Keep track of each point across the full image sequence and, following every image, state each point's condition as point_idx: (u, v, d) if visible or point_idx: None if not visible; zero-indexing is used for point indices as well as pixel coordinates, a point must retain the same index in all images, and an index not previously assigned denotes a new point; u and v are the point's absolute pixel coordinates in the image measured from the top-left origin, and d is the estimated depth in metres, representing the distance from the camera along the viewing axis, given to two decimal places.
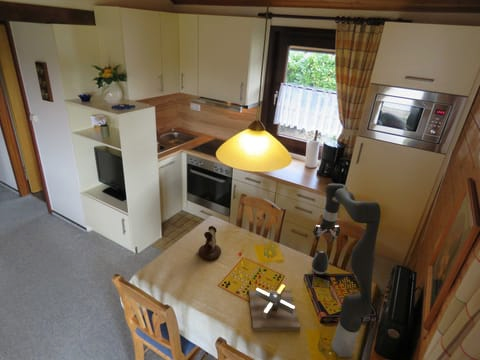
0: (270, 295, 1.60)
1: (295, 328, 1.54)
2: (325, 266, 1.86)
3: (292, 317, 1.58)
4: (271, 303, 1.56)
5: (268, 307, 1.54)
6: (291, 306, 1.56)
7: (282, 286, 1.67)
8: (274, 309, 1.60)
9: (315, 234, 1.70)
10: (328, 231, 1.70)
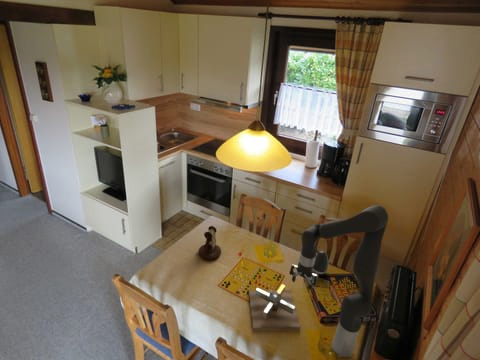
0: (270, 295, 1.60)
1: (295, 328, 1.54)
2: (325, 266, 1.86)
3: (292, 317, 1.58)
4: (271, 303, 1.56)
5: (268, 307, 1.54)
6: (291, 306, 1.56)
7: (282, 286, 1.67)
8: (274, 309, 1.60)
9: None
10: None
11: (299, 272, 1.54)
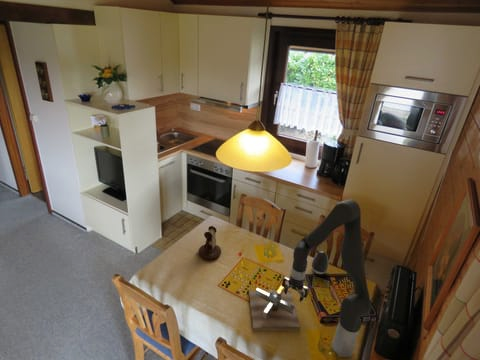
0: (270, 295, 1.60)
1: (295, 328, 1.54)
2: (325, 266, 1.86)
3: (292, 317, 1.58)
4: (271, 303, 1.56)
5: (268, 307, 1.54)
6: (291, 306, 1.56)
7: None
8: (274, 309, 1.60)
9: None
10: None
11: (291, 285, 1.60)
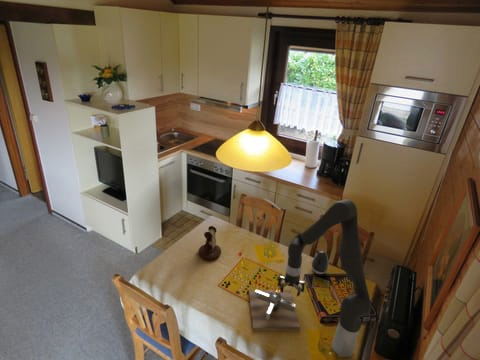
0: (270, 296, 1.60)
1: (295, 328, 1.54)
2: (325, 266, 1.86)
3: (292, 317, 1.58)
4: (272, 303, 1.56)
5: (270, 308, 1.54)
6: (292, 304, 1.57)
7: None
8: (275, 309, 1.60)
9: None
10: None
11: (287, 282, 1.62)
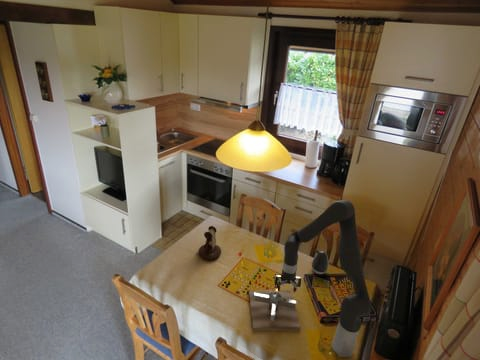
0: (270, 296, 1.59)
1: (295, 328, 1.54)
2: (325, 266, 1.86)
3: (292, 317, 1.58)
4: (274, 304, 1.56)
5: (273, 309, 1.53)
6: (292, 301, 1.58)
7: None
8: (276, 309, 1.60)
9: None
10: None
11: (285, 280, 1.63)
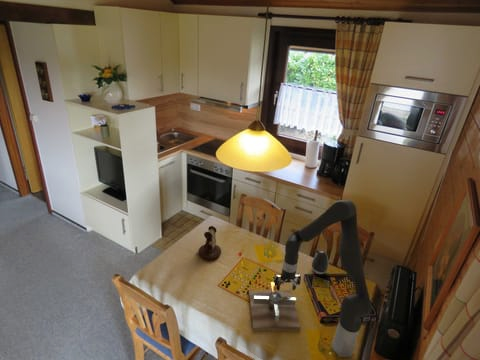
0: (270, 297, 1.59)
1: (295, 328, 1.54)
2: (325, 266, 1.86)
3: (292, 317, 1.58)
4: (276, 304, 1.56)
5: (276, 309, 1.53)
6: (292, 298, 1.60)
7: (272, 284, 1.68)
8: None
9: (297, 280, 1.69)
10: None
11: (285, 279, 1.64)
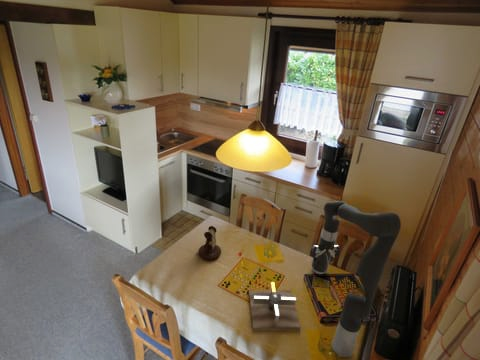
0: (270, 297, 1.59)
1: (295, 328, 1.54)
2: (325, 266, 1.86)
3: (292, 317, 1.58)
4: (276, 304, 1.56)
5: (276, 309, 1.53)
6: (292, 298, 1.60)
7: (272, 284, 1.68)
8: None
9: (335, 251, 1.61)
10: None
11: (323, 250, 1.55)
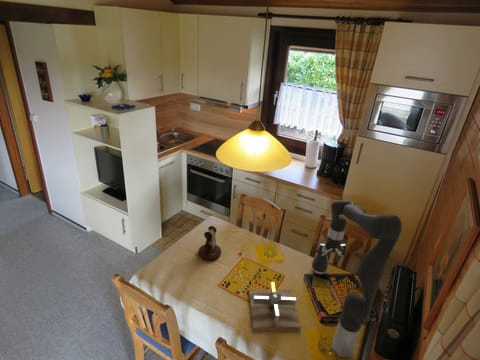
0: (270, 297, 1.59)
1: (295, 328, 1.54)
2: (325, 266, 1.86)
3: (292, 317, 1.58)
4: (276, 304, 1.56)
5: (276, 309, 1.53)
6: (292, 298, 1.60)
7: (272, 284, 1.68)
8: None
9: None
10: None
11: (330, 248, 1.55)
